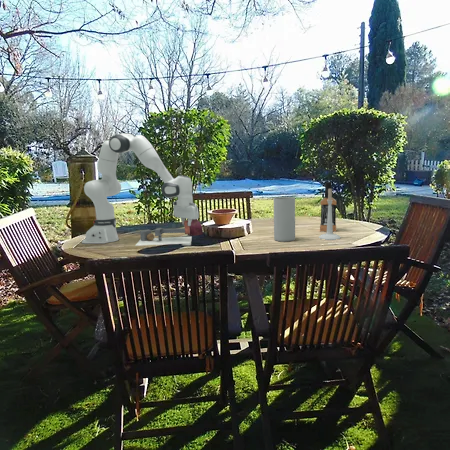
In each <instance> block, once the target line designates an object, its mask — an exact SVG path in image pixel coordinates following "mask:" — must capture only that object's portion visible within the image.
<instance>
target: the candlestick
mask: <svg viewBox="0 0 450 450" xmlns="http://www.w3.org/2000/svg"><path fill="white" fill-rule="evenodd" d="M332 189H333V188H331V189H328V200H327V201H328V218H327V232H326V233H323V234H320V235H319V236H318V239H319V238H320V240H322V239H325V240H324V241H337V240H336V239H339V240H341V239H342V238H341V236H340V235H339V234H336V233H334V232H333V227H332V206H331V204H332V201H333V200H332V198H333V190H332ZM340 238H341V239H340Z"/></svg>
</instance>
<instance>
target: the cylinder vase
mask: <svg viewBox="0 0 450 450" xmlns="http://www.w3.org/2000/svg"><path fill="white" fill-rule="evenodd" d="M273 239H274V240H275V241H276V242H283V243H285V242H292V241H293V242H294V240H296V198H295V196H294V197H293V196H278V197H273Z"/></svg>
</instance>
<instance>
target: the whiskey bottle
mask: <svg viewBox="0 0 450 450" xmlns="http://www.w3.org/2000/svg"><path fill="white" fill-rule="evenodd" d="M328 189H332V182H331V181H327V182H325V190H324V191H325V192H324V198H322V199H321V200H320V225H319V232H321V231H327V218H328V201H327V200H328ZM332 200H333V201H332V204H331V206H332V227H333V231H336V232H337V222H336V221H337V220H336V218H337V217H336V216H337V215H336V212H337V210H336V209H337V208H336V207H337V200H336V199H335V198H334V197H332Z"/></svg>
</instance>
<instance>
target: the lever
mask: <svg viewBox="0 0 450 450" xmlns="http://www.w3.org/2000/svg"><path fill="white" fill-rule="evenodd" d="M187 223H188V219H185V221H184V225H183V227H184V228H183V227H181V228H179V227H178V228H163V227H157V228H155V229H154V237H158V236H161V235H162V236H163V234H184V235H188V234H190V228H189V226H187Z"/></svg>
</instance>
